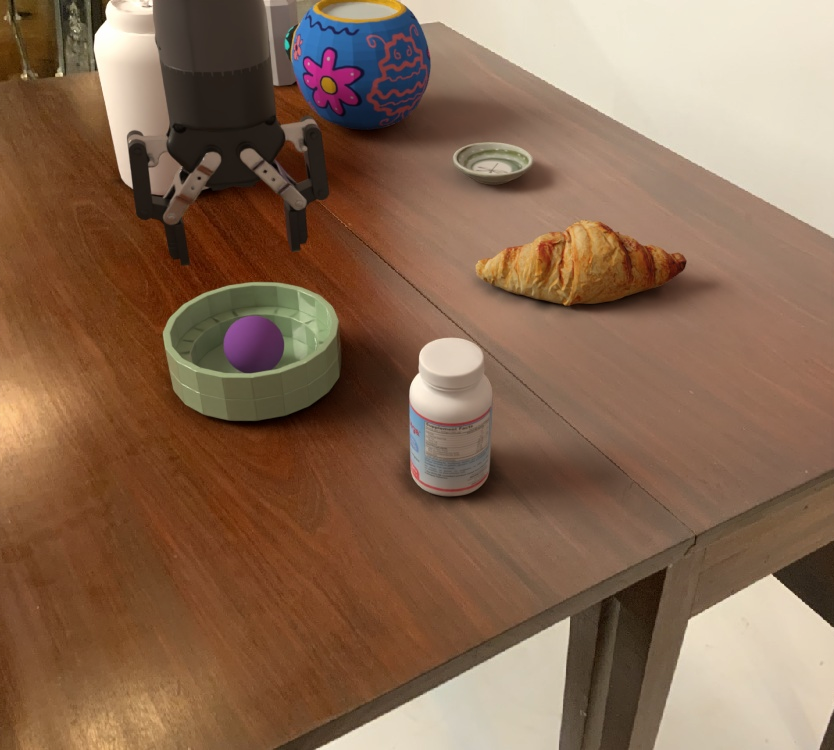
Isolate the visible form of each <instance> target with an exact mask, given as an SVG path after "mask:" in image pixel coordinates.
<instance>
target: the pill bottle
mask: <svg viewBox="0 0 834 750" xmlns="http://www.w3.org/2000/svg"><path fill="white" fill-rule="evenodd" d="M418 355H419V356H418V373H417V374H416V375H415V377H414V378H413V379H412V382H411V384H410V387H409V395H408V396H409V397H408V398H409V400H408V401H409V460H410V461H409V462H410V473H411V474H410V475H411V477H412V478H413V480H414V482H415V483H416V485H417V486H418V487H420V488H421V489H422V490H424V491H425V492H427V493H430V494H433V495H436V496H441V497H460V496H465V495H469V494H471V493H473V492H475V491H477V490H478V489H480V487H482V486H483V485H484V484H485V482H486V481H487V479H488V476H489V474H490V466H491V449H492V448H491V447H492V445H491V444H492V421H493V397H494V396H493V395H494V394H493V387H492V384H491V382H490V380H489V378H488V376H486V375H485V374H484V373H485V356H484V352H483V350H482V349H481V348H480V347H479V346H478V345H477V344H476V343H474V342H472V341H470V340H467V339H465V338H461V337H460V338H459V337H443V338H438V339H434V340H432V341H430V342H428V343H426V344H425V345H424V346H423V347H422V348H421V350H420V352H419V354H418Z"/></svg>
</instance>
